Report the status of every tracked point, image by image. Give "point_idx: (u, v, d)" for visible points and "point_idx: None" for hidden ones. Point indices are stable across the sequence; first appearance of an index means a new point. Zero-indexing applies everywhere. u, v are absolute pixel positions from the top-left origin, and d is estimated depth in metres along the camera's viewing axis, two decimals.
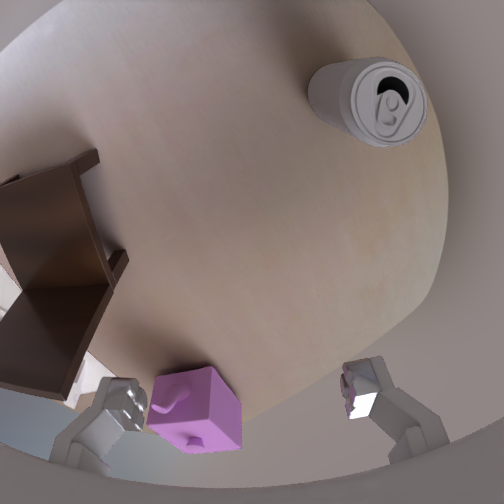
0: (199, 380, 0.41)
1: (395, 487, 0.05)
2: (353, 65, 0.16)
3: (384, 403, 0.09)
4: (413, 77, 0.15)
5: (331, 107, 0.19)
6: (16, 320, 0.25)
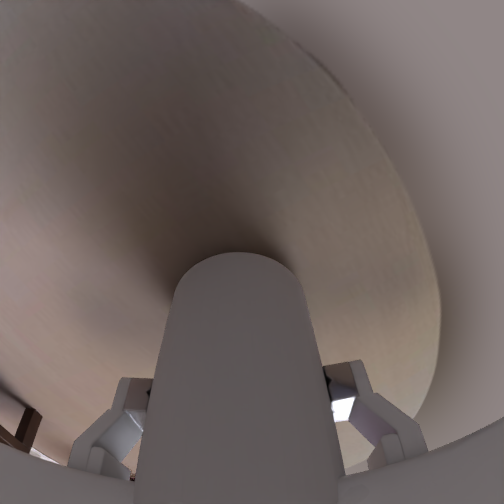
0: None
1: (395, 487, 0.05)
2: (144, 498, 0.05)
3: (362, 408, 0.09)
4: None
5: None
6: None
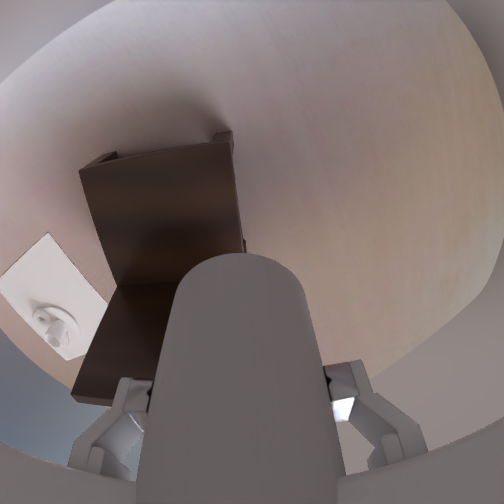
0: None
1: (395, 487, 0.05)
2: (146, 499, 0.05)
3: (362, 408, 0.09)
4: None
5: None
6: (128, 322, 0.25)
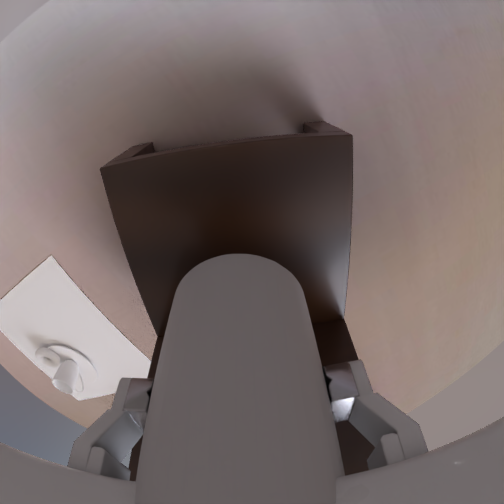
0: None
1: (395, 487, 0.05)
2: (145, 500, 0.05)
3: (362, 408, 0.09)
4: None
5: None
6: None
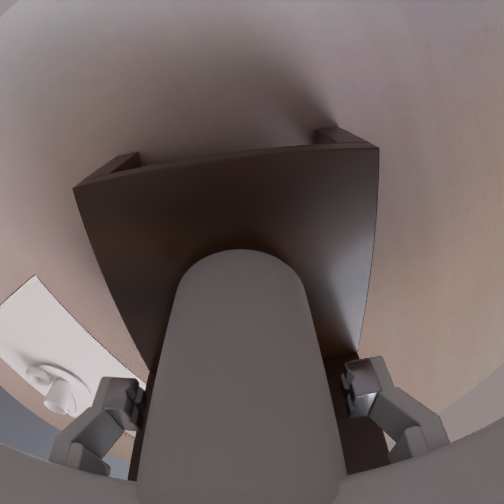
0: None
1: (395, 487, 0.05)
2: (148, 491, 0.05)
3: (384, 403, 0.09)
4: None
5: None
6: None
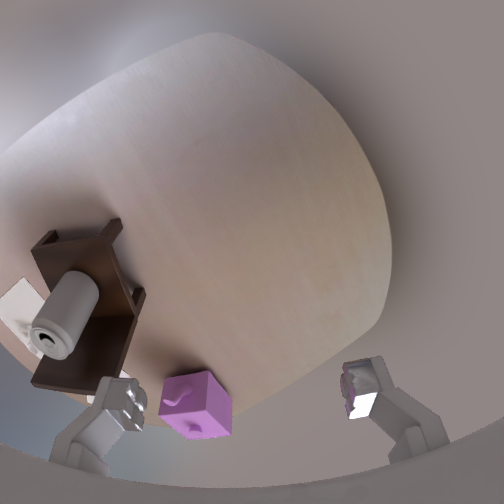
0: (198, 381, 0.54)
1: (395, 487, 0.05)
2: (32, 322, 0.29)
3: (384, 403, 0.09)
4: (50, 333, 0.28)
5: None
6: None
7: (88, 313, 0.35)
